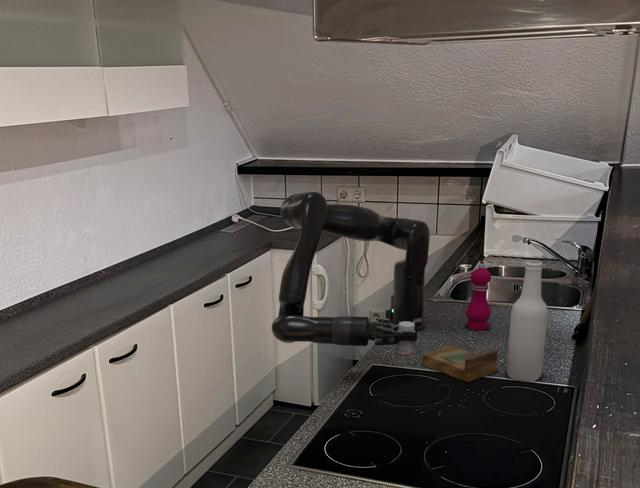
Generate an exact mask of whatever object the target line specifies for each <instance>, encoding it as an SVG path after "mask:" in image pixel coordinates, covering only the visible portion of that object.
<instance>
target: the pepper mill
mask: <svg viewBox="0 0 640 488" xmlns="http://www.w3.org/2000/svg"><path fill="white" fill-rule="evenodd" d="M491 280H492V273H491V272H490V271H489V270H488V269H487V268H485V264H484V263H479V265H478V268H476V269H473V271H472V272H471V273H470V281H471V282H472V284H471V290H472V298H471V300H470V303H469V304H468V306H467V308H466V313H465V316H466V317H467V322H466V327H467V329H469V330H474V331H485V330H487V329H488V328H489V321H488V320H489V319H490V317H491V307H490V305H489V302H488V298H487V294H488V290H490V288H489V287H490V285H489V283H490V282H491Z"/></svg>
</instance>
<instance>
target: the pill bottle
mask: <svg viewBox="0 0 640 488" xmlns="http://www.w3.org/2000/svg"><path fill="white" fill-rule="evenodd" d="M414 328H415V324H414V323H413V322H407V321H405V322H400V323H399V328H398V329H399V330H398V331H400V332H415V331H414ZM395 345H396V346H395V347H396V349H395V350H396V351H395V354H396V356H397V357H398V358H399V357H400V358H404V359H406V358H407V359H408V358H413V357H414V356H415V353H416V341H402V340H401V342H399V344H395Z"/></svg>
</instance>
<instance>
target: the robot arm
mask: <svg viewBox="0 0 640 488" xmlns="http://www.w3.org/2000/svg"><path fill="white" fill-rule="evenodd" d="M280 215H281V218H282V219H283V221H284V222H285V223H286V224H287V226H289V227H291V228H293V229H295V230H296V229H298V230H300V233H299V237H298V241H297V243H296V245H295V248H294V250H293V252H292V253H291V256H290V257H289V259H288V261H287V263H286V264H285V266H284V270H283V271H282V276H281V280H280V285H279V292H278V302H279V310H278V316H277V317H276V318H275V319H274V320H273V322H272V324H271V332H272V335H273V336H274V338H275V339H276V340H278V341H280V342H282V343H285V344H293V343H295V342H298V343H300V342H304V343H305V342H310V343H314V344H319V345H320V344H323V345H337V346H350V347H367V346H369V341H374V345H375V346H391V345H396V344H399V342H401V340H402V341H415V342H417V340H418V331H419V330H421V329H423V328H424V302H425V301H424V300H425V276H426V275H425V274H426V267H427V265H428V260H429V250H430V241H431V232H430V228H429V225H428V224H427V222H425V221H422V220H417V219H410V218H406V217H405V218H404V217H389V216H384V215H381V214H380V213H378V212H377V211H375V210H373V209H370V208H368V207H363V206H359V205H355V204H343V203H341V204H340V203H338V204H337V203H336V204H335V203H333V204H332V203H328V201H327V199H326V198H325V196H324V195H323V194H322V193H320V192H318V191H306V192H298V193H293V194H291V195H289V196H287V197H286V198H285V199H284V200H283V202H282V204H281V206H280ZM323 232H324V233H328V234H331V235H335V236H338V237H342V238H346V239H350V240H354V241H359V242H380V243H383V244H386V245H389V246H391V247H393V248H396V249H398V250H402V251H405V258H404V259H403V260H399V261H396V262H395V263H394V264H393V294H392V295H391V296H390V308H389V309H385V314H384V315H385V316H384V317H385V319H384V318H383V319H382V318H379V319H377V322H373V323H372V322H371V323H370V318H369V317H368V316H351V315H350V316H349V315H346V316H345V315H343V316H342V315H340V316H308V315H306V316H305V315H304V313H305V302H306V298H307V293H308V292H307V291H308V286H309V278H310V273H311V269H312V265H313V261H314V258H315V255H316V252H317V249H318V247H319V243H320V241H321V240H320V239H321V237H322V234H323ZM405 321H407V322H413V323H414V324H415V328H414V331H415V332H400V331H398V330H399V329H398V328H399V323H400V322H405Z"/></svg>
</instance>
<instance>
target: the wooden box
mask: <svg viewBox="0 0 640 488" xmlns="http://www.w3.org/2000/svg"><path fill="white" fill-rule="evenodd" d="M498 353H499V351H498V350H496V349H492V350H489V351H485V352H483V353H480V354H479V353H478V354H476V353H473V352H471V351H468V350H465V349H462V348H459V347H456V346H453V345H448V346H446V347H443V348H439V349H436V350H432V351H430V352H426V353H423V354H422V366H424V367H426V368H427V367H428V368H430V369H432V370H435V371H437V372H440V373H443V374H445V375H447V376H449V377H453V378H456V379H458V380H461V381H463V382H465V383H470V382H472V381H474V380H477V379H481V378H484V377H486V376H489V375H492V374H495V373H497V364H498Z"/></svg>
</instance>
